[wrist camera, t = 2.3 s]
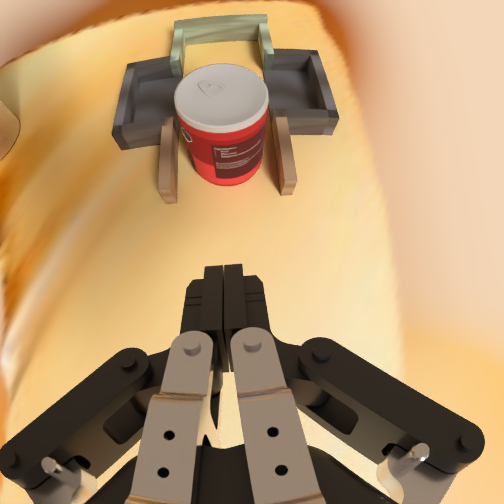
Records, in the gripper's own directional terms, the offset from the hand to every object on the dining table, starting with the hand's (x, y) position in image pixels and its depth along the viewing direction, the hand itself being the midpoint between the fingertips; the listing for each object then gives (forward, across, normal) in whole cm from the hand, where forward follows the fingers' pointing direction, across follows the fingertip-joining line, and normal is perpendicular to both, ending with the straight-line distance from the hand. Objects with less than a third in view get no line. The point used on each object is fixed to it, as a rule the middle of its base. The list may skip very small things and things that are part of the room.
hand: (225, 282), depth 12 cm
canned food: (+24, 0, +1) cm, 24 cm away
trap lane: (+30, 0, -6) cm, 30 cm away
